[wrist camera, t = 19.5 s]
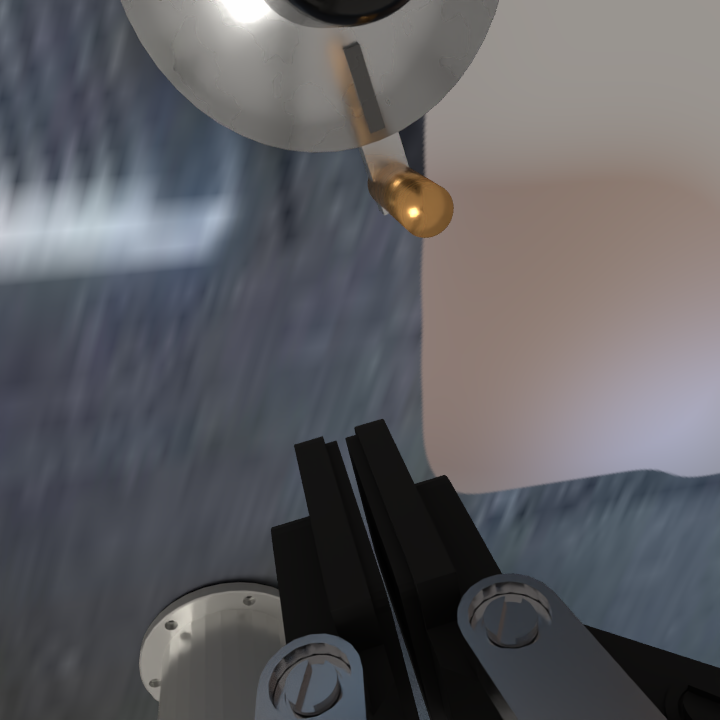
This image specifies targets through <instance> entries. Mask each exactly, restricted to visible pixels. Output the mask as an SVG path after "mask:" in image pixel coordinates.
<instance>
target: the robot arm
mask: <svg viewBox="0 0 720 720" xmlns="http://www.w3.org/2000/svg"><path fill="white" fill-rule="evenodd" d="M355 433H356V435H354V436H350V437H347V438H346V443H347V447H348V451H349V455H350V458H351V462H352V466H353V470H354V474H355V478H356V481H357V485H358V489H359V493H360V497H361V501H362V504H363V508H364V512H365V516H366V520H367V523H368V527H369V531H370V535H371V539H372V543H373V546H374V550H375V554H376V557H377V561H378V564H379V567H380V570H381V573H382V576H383V579H384V582H385V585H386V588H387V591H388V594H389V597H390V600H391V603H392V606H393V609H394V612H395V615H396V618H397V621H398V624H399V627H400V630H401V633H402V636H403V639H404V642H405V645H406V648H407V651H408V654H409V657H410V660H411V663H412V666H413V669H414V672H415V675H416V678H417V681H418V684H419V687H420V690H421V693H422V696H423V699H424V702H425V705H426V708H427V711H428V714H429V717H430V720H720V668H718V667H715V666H712V665H708V664H705V663H702V662H699V661H696V660H693V659H690V658H687V657H683V656H680V655H677V654H674V653H671V652H668V651H665V650H662V649H659V648H655V647H652V646H649V645H646V644H643V643H640V642H637V641H634V640H631V639H627V638H624V637H621V636H618V635H615V634H612V633H609V632H606V631H602V630H599V629H596V628H593V627H590V626H587V625H584V624H582V623H581V622H580V620H579V619H578V618H577V617H576V616H575V615H574V614H573V612H572V611H571V610H570V609H569V608H568V607H567V606H566V605H565V603H564V602H563V601H562V600H561V599H560V598H559V597H558V596H557V594H556V593H555V592H554V591H553V590H551V589H550V588H549V587H548V586H547V585H545V584H544V583H543V582H541V581H539V580H536V579H534V578H532V577H530V576H525V575H519V574H514V573H512V574H502V573H501V571H500V569H499V568H498V566H497V564H496V562H495V560H494V559H493V557H492V555H491V553H490V552H489V550H488V548H487V546H486V544H485V543H484V541H483V539H482V537H481V535H480V534H479V532H478V530H477V528H476V527H475V525H474V523H473V521H472V519H471V518H470V516H469V514H468V512H467V510H466V509H465V507H464V505H463V503H462V502H461V500H460V498H459V496H458V494H457V493H456V491H455V489H454V487H453V486H452V484H451V482H450V480H449V479H448V477H447V476H445V475H443V476H439V477H436V478H433V479H430V480H426V481H423V482H420V483H416V484H414V482H413V480H412V478H411V476H410V474H409V472H408V469H407V467H406V465H405V463H404V461H403V459H402V457H401V455H400V453H399V451H398V448H397V446H396V444H395V442H394V440H393V438H392V436H391V434H390V432H389V429H388V427H387V425H386V423H385V421H384V419H380V420H377V421H373V422H370V423H366V424H363V425H360V426H356V427H355ZM294 447H295V452H296V457H297V461H298V466H299V470H300V475H301V479H302V484H303V488H304V493H305V498H306V502H307V507H308V511H309V516H308V517H305V518H301V519H298V520H295V521H292V522H288V523H285V524H282V525H278V526H275V527H272V528H271V535H272V543H273V551H274V558H275V566H276V573H277V581H278V588H279V590H278V589H276V588H273V587H271V586H266V585H261V584H257V583H244V582H235V583H224V584H218V585H213V586H209V587H205V588H202V589H199V590H197V591H194V592H192V593H189V594H187V595H185V596H183V597H182V598H180V599H178V600H176V601H175V602H173V603H172V604H170V605H169V606H168V607H167V608H165V609H164V610H163V611H162V612H161V613H160V614H159V615H158V616H157V617H156V618H155V619H154V621H153V622H152V623H151V624H150V626H149V628H148V630H147V631H146V633H145V635H144V637H143V641H142V645H141V649H140V661H139V668H140V675H141V679H142V681H143V683H144V686H145V687H146V689H147V690H148V691H149V693H150V694H151V695H152V696H153V697H154V698H155V699H156V700H157V701H158V702H159V711H158V720H419V716H418V712H417V708H416V704H415V700H414V696H413V693H412V689H411V685H410V681H409V677H408V673H407V670H406V666H405V662H404V658H403V654H402V650H401V647H400V643H399V639H398V635H397V631H396V627H395V623H394V620H393V616H392V612H391V608H390V604H389V601H388V597H387V594H386V591H385V587H384V584H383V581H382V578H381V575H380V572H379V569H378V565H377V562H376V559H375V556H374V553H373V550H372V547H371V544H370V541H369V538H368V535H367V532H366V529H365V526H364V523H363V520H362V517H361V514H360V511H359V508H358V505H357V502H356V499H355V496H354V493H353V490H352V487H351V483H350V480H349V477H348V474H347V471H346V468H345V465H344V462H343V459H342V456H341V453H340V450H339V447H338V444H337V441H333V442H330V443H327V444H325V442H324V439H323V436H322V437H319V438H315V439H312V440H309V441H305V442H302V443H298V444H295V445H294Z"/></svg>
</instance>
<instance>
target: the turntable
mask: <svg viewBox="0 0 720 720" xmlns="http://www.w3.org/2000/svg"><path fill="white" fill-rule="evenodd" d="M121 2H122V5H123V7H124V10H125V12H126V15H127V17H128V19H129V21H130V23H131V24H132V26H133V28H134V30H135V32H136V34H137V36H138V38H139V40H140V42H141V43H142V45H143V46H144V48H145V49H146V51H147V52H148V54H149V55H150V56H151V58H152V59H153V61H154V62H155V64H156V65H157V67H158V68H159V69H160V70H161V71H162V73H163V74H164V75H165V76H166V77H167V78H168V80H169V81H170V82H171V83H172V84H173V85H174V87H175V88H176V89H177V90H178V91H179V92H180V93H182V94H183V95H184V96H185V97H186V98H187V99H188V100H189V101H190V102H191V103H193V104H194V105H195V106H196V107H197V108H198V109H200V110H201V111H202V112H204V113H205V114H207V115H208V116H209V117H211V118H212V119H214V120H215V121H216V122H218V123H219V124H221V125H223V126H225V127H227V128H229V129H231V130H232V131H234V132H236V133H238V134H240V135H242V136H244V137H247V138H249V139H252V140H255V141H257V142H260V143H263V144H265V145H269V146H274V147H278V148H282V149H286V150H293V151H303V152H335V151H341V150H347V149H352V148H359V151H360V154H361V157H362V160H363V163H364V166H365V169H366V172H367V175H368V190H369V193H370V195H371V196H372V198H373V199H374V200H375V201H376V202H377V205H378V208H379V211H380V212H381V213H382V214H384V215H387V214H389V213H390V214H391V215H392V216H393V217H394V218H395V219H396V220H397V221H398V222H399V223H400V224H402V225H403V226H404V227H405V228H406V229H407V230H408V231H409V232H410V233H412V234H413V235H415V236H418V237H422V238H429V237H433V236H435V235H438V234H439V233H441V232H442V231H443V230H445V228H446V227H447V226H448V225H449V223H450V221H451V219H452V216H453V209H454V207H453V201H452V198H451V196H450V194H449V193H448V192H447V191H446V190H445V189H444V188H443V187H441V186H439V185H438V184H436V183H434V182H433V181H431V180H429V179H428V178H426V177H424V176H423V175H421V174H419V173H418V172H416V171H414V170H413V169H411V168H409V166H408V162H407V159H406V156H405V152H404V149H403V146H402V142H401V139H400V136H399V131H401V130H403V129H404V128H406V127H407V126H409V125H410V124H412V123H413V122H415V121H416V120H418V119H420V118H421V117H422V116H424V115H425V114H426V113H427V112H428V111H429V110H430V109H432V108H433V107H434V106H435V105H436V104H438V103H439V102H440V101H441V100H442V98H444V97H445V95H446V94H447V93H448V92H449V91H450V90H451V89H452V88H453V87H454V86H455V85H456V83H457V82H458V81H459V79H460V78H461V76H462V75H463V74H464V72H465V71H466V70H467V68H468V67H469V65H470V64H471V63H472V61H473V59H474V57H475V55H476V54H477V52H478V50H479V48H480V46H481V45H482V43H483V41H484V39H485V37H486V34H487V32H488V29H489V27H490V25H491V22H492V20H493V17H494V15H495V12H496V9H497V5H498V2H499V0H410V1H409V2H408V3H407V4H406V5H405V6H403V7H402V8H401V9H399V10H398V11H397V12H395V13H393V14H392V15H390V16H388V17H386V18H384V19H382V20H380V21H377V22H374V23H371V24H367V25H362V26H355V27H340V28H313V27H306V26H302V25H299V24H296V23H293V22H291V21H289V20H287V19H285V18H283V17H281V16H280V15H279V14H277V13H276V12H274V11H273V10H272V9H271V8H270V7H269V6H268V5H267V4H266V3H265V2H264V1H263V0H121Z"/></svg>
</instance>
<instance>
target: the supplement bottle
mask: <svg viewBox="0 0 720 720" xmlns="http://www.w3.org/2000/svg"><path fill="white" fill-rule="evenodd" d="M263 1H264V2H265V3H266V4H267V5H268V6H269V7H270V8H271V9H272V10H273V11H274V12H276V13H277V14H279V15H280V16H281V17H283V18H285V19H287V20H289V21H291V22H293V23H296V24H299V25H302V26H306V27H313V28H340V27H355V26H362V25H367V24H371V23H374V22H377V21H380V20H382V19H384V18H386V17H388V16H390V15H392V14H393V13H395V12H397V11H398V10H399V9H401V8H402V7H403V6H405V5H406V4H407V3H408V2H409V1H410V0H263Z"/></svg>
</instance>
